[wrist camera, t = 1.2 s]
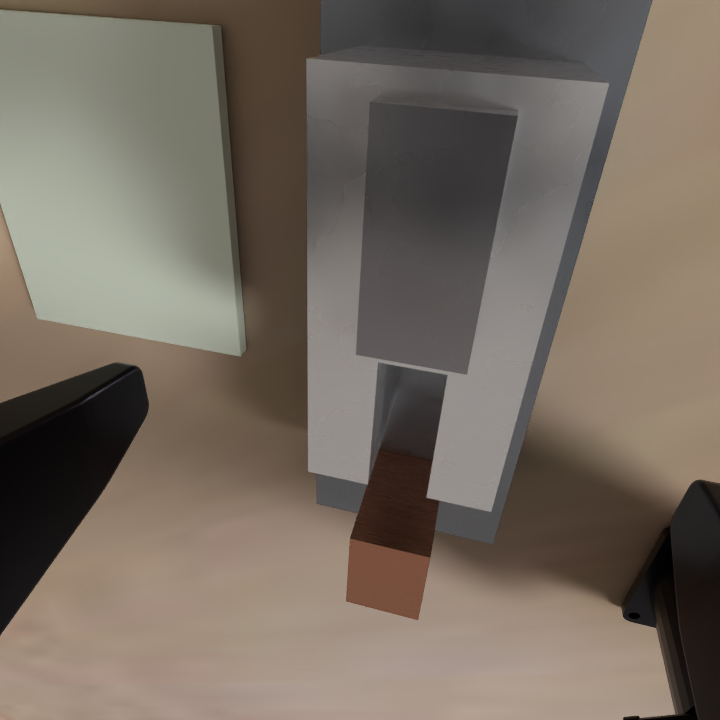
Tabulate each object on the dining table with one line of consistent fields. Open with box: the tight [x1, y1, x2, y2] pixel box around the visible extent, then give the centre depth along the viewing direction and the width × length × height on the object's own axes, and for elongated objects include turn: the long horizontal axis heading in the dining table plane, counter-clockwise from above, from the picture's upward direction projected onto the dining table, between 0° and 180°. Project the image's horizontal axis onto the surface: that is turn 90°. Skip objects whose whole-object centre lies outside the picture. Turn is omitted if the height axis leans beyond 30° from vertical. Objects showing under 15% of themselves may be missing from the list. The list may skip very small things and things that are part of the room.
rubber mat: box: [0, 9, 246, 357], centre depth 21 cm, size 12×10×1 cm
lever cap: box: [306, 46, 609, 512], centre depth 13 cm, size 10×5×5 cm, turn 177°
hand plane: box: [317, 0, 652, 620], centre depth 15 cm, size 22×7×8 cm, turn 177°
